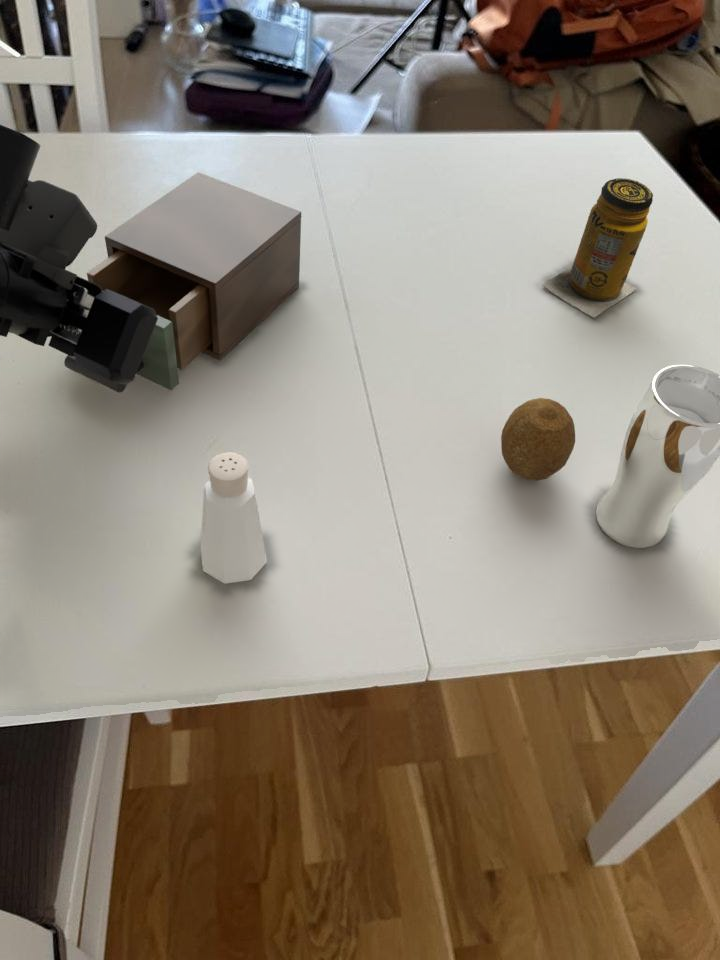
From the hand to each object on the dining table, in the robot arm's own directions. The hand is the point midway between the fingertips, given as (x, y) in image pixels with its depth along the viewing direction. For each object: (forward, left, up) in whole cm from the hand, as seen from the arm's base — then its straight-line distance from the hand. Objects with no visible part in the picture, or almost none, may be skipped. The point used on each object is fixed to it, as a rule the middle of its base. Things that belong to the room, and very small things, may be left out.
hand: (105, 323), depth 73 cm
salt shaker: (+8, -22, -7) cm, 24 cm away
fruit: (+35, -17, -7) cm, 40 cm away
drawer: (+4, +4, -6) cm, 8 cm away
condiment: (+52, +8, -7) cm, 53 cm away
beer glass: (+42, -24, -7) cm, 49 cm away
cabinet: (+10, +11, -7) cm, 17 cm away
